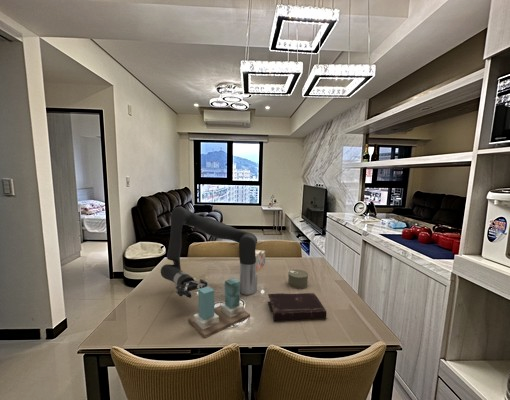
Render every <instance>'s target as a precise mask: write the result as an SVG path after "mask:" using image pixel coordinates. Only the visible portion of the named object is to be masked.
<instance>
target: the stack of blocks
mask: <svg viewBox="0 0 510 400" xmlns="http://www.w3.org/2000/svg"><path fill="white" fill-rule="evenodd" d="M255 256H256V273H257V272H258V271H259V270H260V269H261V268H262V267H263V265H264V264H265V263H266V250H262V249H260V250H259V249H255ZM264 262H265V263H264ZM260 267H261V268H260Z"/></svg>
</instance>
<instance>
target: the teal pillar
mask: <svg viewBox="0 0 510 400" xmlns="http://www.w3.org/2000/svg"><path fill="white" fill-rule="evenodd" d="M197 291H198V293H197V296H198V297H197V298H198V302H197V303H198V304H197V305H198V306H197V307H198V311H197V312H198V313H199V316H200V317H201V318H202V319H203V320H206V319H209V318H211V317H213V316H214V308H215V289H213V288H212V287H210V286H209V285H207V287H204V288H201V289H198V290H197Z"/></svg>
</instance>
